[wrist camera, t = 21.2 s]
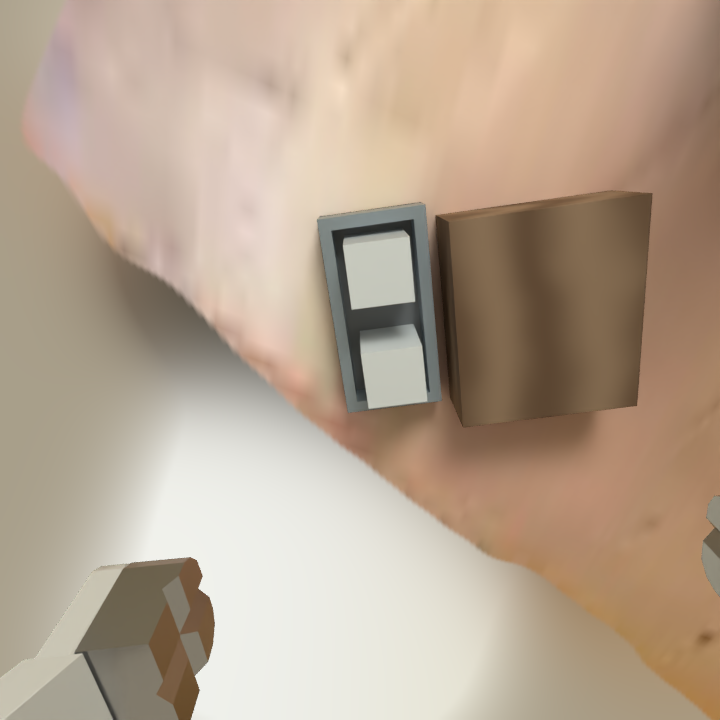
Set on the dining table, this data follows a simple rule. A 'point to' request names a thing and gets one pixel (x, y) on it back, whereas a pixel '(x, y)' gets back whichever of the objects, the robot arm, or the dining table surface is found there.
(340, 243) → the tray
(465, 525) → the dining table surface
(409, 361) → the off-white small block
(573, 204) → the square brown board
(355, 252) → the white block
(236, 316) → the dining table surface
